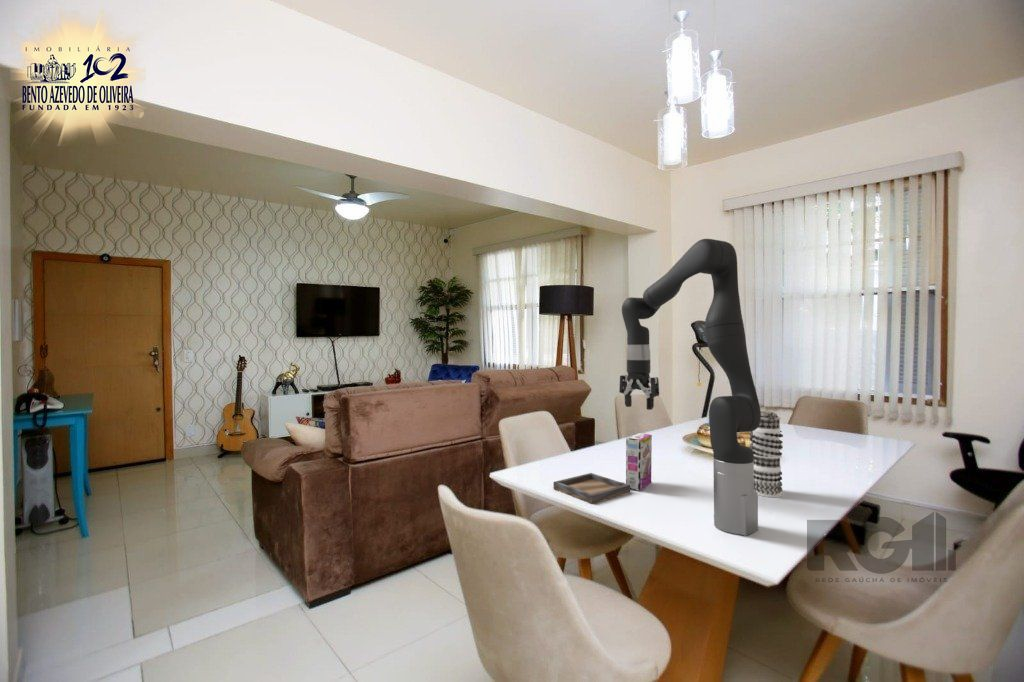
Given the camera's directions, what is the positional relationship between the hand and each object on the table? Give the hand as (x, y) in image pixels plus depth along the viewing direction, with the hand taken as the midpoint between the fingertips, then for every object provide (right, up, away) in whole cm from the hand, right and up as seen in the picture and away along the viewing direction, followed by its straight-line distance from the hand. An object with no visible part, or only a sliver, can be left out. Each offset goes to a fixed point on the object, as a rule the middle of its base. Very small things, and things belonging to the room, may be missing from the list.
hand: (638, 408), depth 150 cm
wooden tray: (-16, -26, -4) cm, 31 cm away
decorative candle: (+38, -25, -8) cm, 46 cm away
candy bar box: (0, -26, 0) cm, 26 cm away
